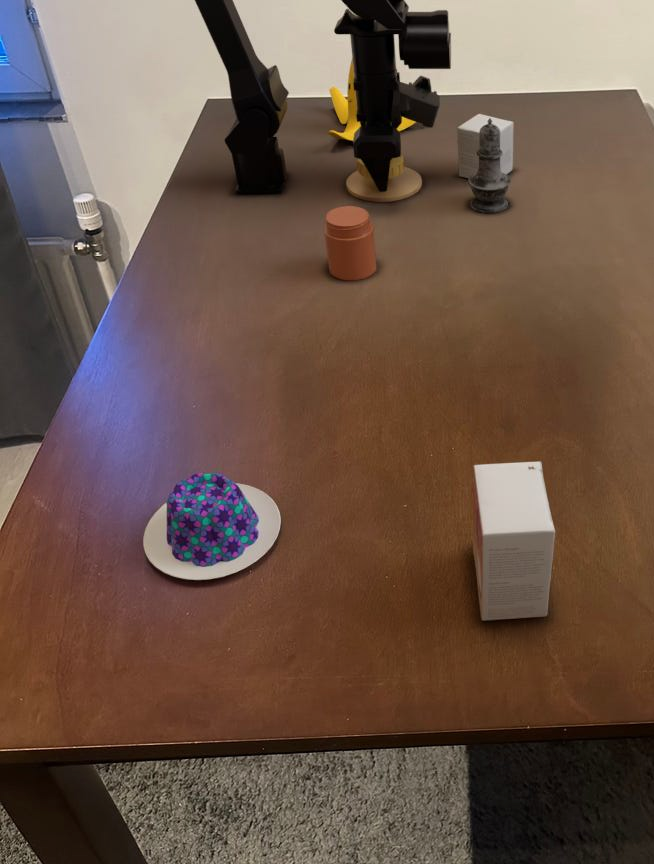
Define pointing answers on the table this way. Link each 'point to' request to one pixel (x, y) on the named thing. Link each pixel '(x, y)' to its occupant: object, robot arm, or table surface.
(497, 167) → the grey tall turned piece
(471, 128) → the product box
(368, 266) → the jar
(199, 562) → the pudding
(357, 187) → the coaster
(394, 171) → the jar lid
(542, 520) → the small box
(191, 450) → the table surface
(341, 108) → the banana peel
